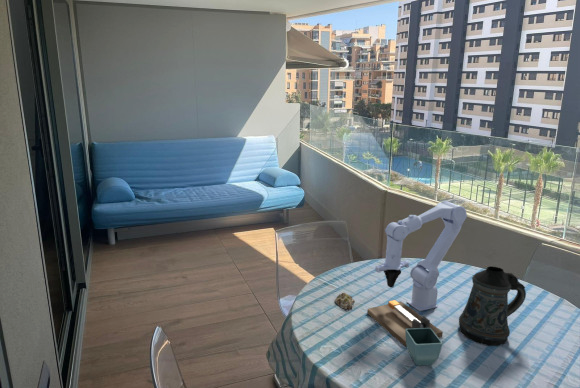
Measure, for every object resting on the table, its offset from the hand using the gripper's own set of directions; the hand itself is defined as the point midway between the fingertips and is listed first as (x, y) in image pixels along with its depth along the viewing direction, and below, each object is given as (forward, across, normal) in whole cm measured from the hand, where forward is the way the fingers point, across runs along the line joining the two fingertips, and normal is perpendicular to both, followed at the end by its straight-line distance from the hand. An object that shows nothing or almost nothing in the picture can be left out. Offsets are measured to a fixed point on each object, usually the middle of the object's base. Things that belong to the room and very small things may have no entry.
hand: (390, 286), depth 153 cm
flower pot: (+11, -10, -29) cm, 33 cm away
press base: (+10, -1, -10) cm, 15 cm away
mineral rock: (+11, -13, +11) cm, 20 cm away
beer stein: (+10, +24, -26) cm, 36 cm away
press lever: (+7, -1, -12) cm, 13 cm away
